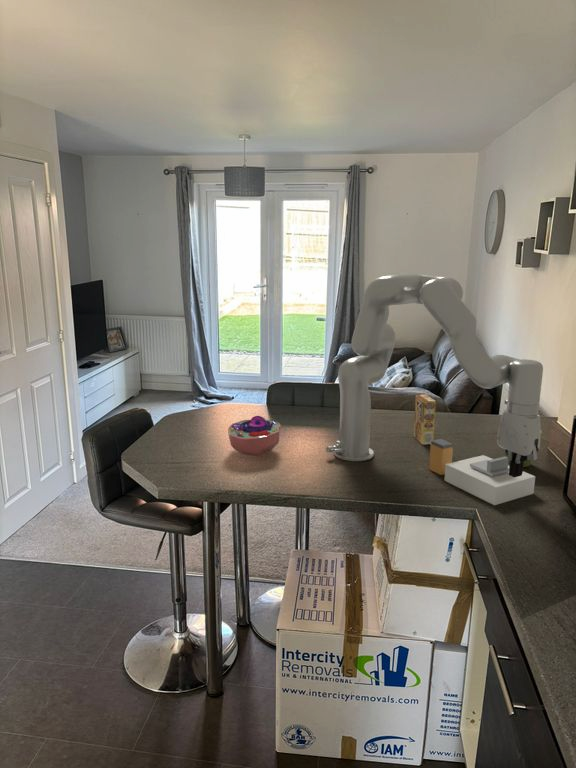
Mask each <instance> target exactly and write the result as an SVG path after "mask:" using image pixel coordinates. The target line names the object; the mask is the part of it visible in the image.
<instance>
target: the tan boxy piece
mask: <svg viewBox="0 0 576 768" xmlns="http://www.w3.org/2000/svg"><path fill="white" fill-rule="evenodd" d="M453 445H454V443H453V442H450V441H447V440H445V439H443V438H438V439H435V440H433V441H431V444H430V449H429V450H430V451H429V461H428V462H429V464H428V465H429V466H428V470H430V471H432V472H433V473H436V474H438V475H439V476H443V475H445V466H446V464H448V463H452V462H453V453H454V452H453V451H454V447H453Z"/></svg>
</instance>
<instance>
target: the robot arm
mask: <svg viewBox="0 0 576 768" xmlns="http://www.w3.org/2000/svg"><path fill="white" fill-rule="evenodd" d="M463 291H464V290H463V287H462V285H461V284H460V282H459V281H458V280H457V279H455V278H453V277H448V276H434V275H426V274H417V273H407V274H393V275H392V274H391V275H386V276H380V277H377V278H375V279H374V280H371V282H370V283H369V284H367V287H366V289H365V291H364V294H363V299H362V303H361V306H360V310H359V313H358V316H357V319H356V322H355V323H356V324H355V327H354V330H353V335H352V337H351V342H350V343H351V348H352V351H353V353H354V354H357V356H354V357H351V358H348V359H346V360H344V361H343V362H342V363H341V364H340V365H339V368H338V371H337V379H338V386H339V393H340V394H339V395H340V398H339V399H340V400H339V402H340V403H339V433H338V434H339V436H338V437H339V438H338V439H339V440H336V443H335V444H333V445H329V446H326V447H325V451H326V453H333V455H334V456H335V457H336V458H338V459H340V460H343V461H349V462H363V461H369V460H371V459H372V458H373V457H374V453H375V451H374V450H373V449H372V448H370V437H371V435H370V431H371V411H372V409H371V408H372V406H371V405H372V401H371V399H372V398H371V395H370V390H369V385H373V384H375V383H377V382H379V381H381V380H382V379H383V378H384V377H385V375H386V373H387V370H388V368H389V367H388V366H389V364H390V361H391V358H392V355H393V351H394V350H395V349H394V348H395V345H396V333H395V331H394V328H393V327H392V325H391V324H389V323H388V320H389V316H390V306H400V305H408V304H417V305H418V304H419V305H423V307H424V308H425V309H426V310H427V311H428V312H429V314H430V316H432V318H433V319H434V320H435V322H436V323H437V324H438V325H439V327H440V328H441V329H442V330H443V332H444V333H445V334H446V336H447V338H448V339H449V343H450V347H451V349H452V352H453V355H454V357H455V359H456V361H457V363H458V364H459V366H460V367H461V369H462V370H463V371H464V372H465V374H466V375H467V376H468V378H469V379H470V380H471V381H472V382H473V384H475V385H476V386H478V387H479V388H482V389H484V390H485V389H487V390H488V389H489V390H490V389H493V388H496V387H498V386H500V385H503V384H507V383H508V389H507V390H508V392H507V399H505V400H504V404H505V405H506V409H504V410H503V412H502V414H501V417H500V421H499V426H498V431H497V438H496V444H497V445H498V447H499V448H500V449H501V450H502V451H503V452H504V451H505V452H506V453H507V455H508V460H509V461H510V465H509V475H510V476H512V477H514V478H515V477H518V476H521V475H522V473H523V472H524V467H523V465H524V462H526V461H527V460H531V461H536V460H537V459H538V453H539V451H540V446H541V437H542V433H541V431H542V429H541V428H542V426H541V418H540V415H539V409H540V399H541V391H542V382H543V373H544V366H543V364H542V362H540V361H538V360H534V359H533V360H532V359H525V358H524V359H523V358H522V359H520V358H515V357H512V356H508V355H504V354H495V355H492V356H490V355H489V354H488V353H487V352H486V350H485V349H484V348H483V347H482V344H481V343H480V342H479V340H478V337H477V329H476V328H477V318H476V316H475V315H474V313H473V312H472V311H471V310H470V308H468V307H467V305H466V304H465V303H464V302H463V300H462V299H463V295H464V292H463Z"/></svg>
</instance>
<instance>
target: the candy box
mask: <svg viewBox="0 0 576 768" xmlns="http://www.w3.org/2000/svg"><path fill="white" fill-rule="evenodd" d="M414 403H415V404H414V405H415V406H414V421H413V422H414V424H413V425H414V426H413V427H414V428H413V437H414V438H415V439H416V441H418V442H419V443H420V444H421V445H423V446H424V445H425V446H426V445H431V441H433V440H434V438H435V437H434V436H435V421H436V419H435V418H436V404H437V401H436V400H435V399H433V398H432V397H430V396H429V395H428V394H416V395H415V402H414Z"/></svg>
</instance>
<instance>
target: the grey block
mask: <svg viewBox="0 0 576 768" xmlns="http://www.w3.org/2000/svg"><path fill="white" fill-rule="evenodd" d="M508 465H509V464H508V457H506V456H501V457H497V458H492V460H484V461H480V462H476V463H471V464H470V467H472V468H474V469H477V470H479V471H481V472H483V473H486V474H488V475H490V476H495V475H499V474H503V473H506V472H509V468H508Z"/></svg>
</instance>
